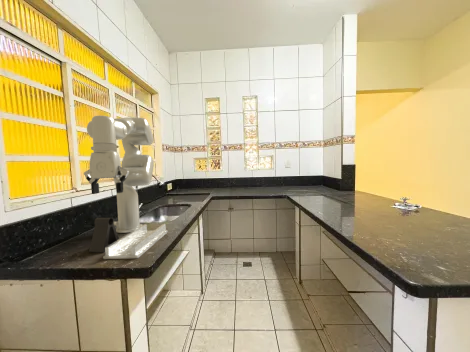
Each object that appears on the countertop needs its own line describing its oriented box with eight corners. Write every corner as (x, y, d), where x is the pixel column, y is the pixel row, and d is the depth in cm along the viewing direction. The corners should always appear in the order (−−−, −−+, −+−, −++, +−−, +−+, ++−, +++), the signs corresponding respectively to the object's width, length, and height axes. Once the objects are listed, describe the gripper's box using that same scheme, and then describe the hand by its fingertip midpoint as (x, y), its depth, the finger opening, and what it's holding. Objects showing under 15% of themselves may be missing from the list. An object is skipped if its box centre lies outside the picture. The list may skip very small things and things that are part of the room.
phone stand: (103, 253, 75) (101, 220, 74) (89, 252, 76) (87, 220, 75) (120, 243, 83) (119, 215, 83) (108, 243, 84) (106, 215, 84)
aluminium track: (103, 259, 69) (102, 247, 69) (143, 232, 97) (142, 224, 97) (137, 258, 69) (137, 246, 69) (167, 232, 97) (167, 223, 97)
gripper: (75, 149, 75) (78, 195, 75) (121, 147, 74) (123, 193, 75) (90, 150, 82) (93, 192, 83) (132, 149, 82) (134, 191, 82)
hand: (107, 193), depth 79 cm, fingers open, 9 cm apart
